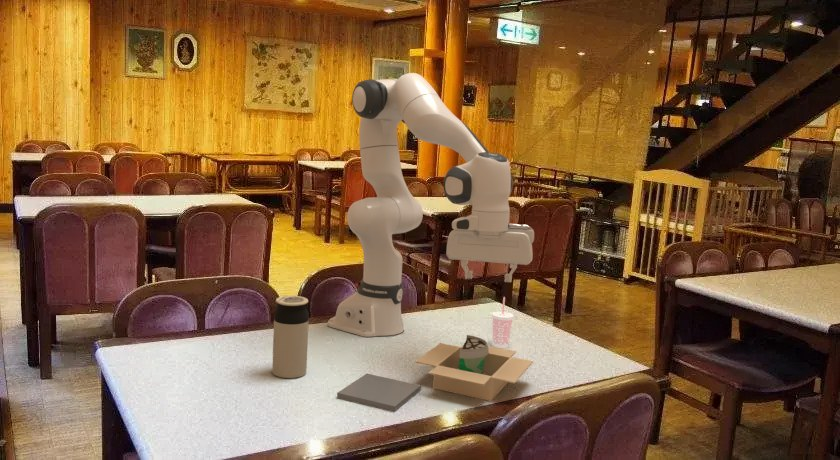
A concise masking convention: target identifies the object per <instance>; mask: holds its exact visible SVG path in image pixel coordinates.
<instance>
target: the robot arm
mask: <svg viewBox="0 0 840 460" xmlns="http://www.w3.org/2000/svg"><path fill="white" fill-rule="evenodd" d="M351 101H352V102H351V103H352V104H351V105H352V107H353V109H354V112H355V114H357V116H359V117H360V121H359V132H358V133H359V135H358V136H359V137H358V140H359V153H360V154H359V155H360V163H361V172H362V177H363V179H365V181H366V182H368V183H369V184H370V186H372V187H373V190H374V192H375V194H376V197H375V196H374V197H373V196H372V197H365V198H363V199H359V200H357V201H354V202H353V203H352V204H351V205H350V206H349V208H348V210H347V214H346V221H347V224H348V227H349V229H350V230H351V232H352V233H353V234H355V235H356V237H357V238H358V240H359V242H360V245H361V248H362V252H363V253H362V254H363V277H362V279H361V280H360V281H358V282H356V283H355V286H354V288H357V290H356V291H355V292H354V293H353V294H351V295H349V296H348V297H347V298H346V299H344V300H343V301H341V302H340V303H339V304H338V305H337V309H336V313H335V315H334V316H333V317H331V318H329V320H327V324H326V325H327V326H328V327H329V328H333V329H335V330H341V331H343V332H348V333H350V334H355V335H357V336H361V337H365V338H366V337H367V338H368V337H369V338H371V337H379V336H380V337H382V336H384V337H385V336H386V337H387V336H395V335H400V334H402V333H403V332H404V331H405V328H404V323H403V319H402V318H403V317H402V309H401V308H402V306H401V305H402V303H401V302H402V299H403V282H402V277H403V274H402V273H403V256H402V255H403V254H401V252H400V251H398V250H397V249H396V248H395V247H394V243H393V235H397V234H405V233H407V232H410V231H413V230H414V229H416V228H418V227H419V226H420V225H421V223H422V221H423V215H424V210H423V208H422V204H421V203H420V201H418V200H417V199H416V198H415V197H414V196H413V195H412V193H411V192H410V190H409V188H408V186H407V183H406V182H405V179H404V176H403V171H402V167H401V166H402V165H401V158H400V156H401V155H400V149H399V141H398V134H397V132H398V131H397V130H398V126H399V124H400V123H401V122H402V123H403V124H405V125H406V127H407V129H408V130H409V132H411V133H412V135H413V136H414V137H415V138H417V139H419V140H420V141H421V142H426V143H430V144H434V145H439V146H442V147H445V148H449V149H450V150H452V151H454V152H456V153H458V154H459V155H460V156H461V158H462V159H463V160H464V161H465V163H462V164H460V165H456V166H452V167H451V168H450V169H449V170H448V171H447V172H446V174H445V176H444V179H443V192H444V194H445V196H446V198H447V199H448V201H449V202H451V203H452V204H453V205H459V206H469V205H470V206H472V208H471V214H467V215H464V216H461V217H458V218H455V219H454V220H452V222H451V228H452V229H453V230H451V231H450V233H449V234H448V237H447V242H446V250H445V251H446V257H447V258H448V260H458V261H460V266H461V267H462V269H463V271H464V273H465V274H464V279H465V280H472V279H473V270H470V268H469V267H468V264H469V262H470V261H471V262H481V263H482V262H483V263H484V262H485V263H494V264H495V263H497V264H509V268H510V269H511V270H510V271H509V273H505V274H504V280H503V281H504V283H512V279H513V274H514V273H515V271H516V269H517V268H518V265H523V266H527V265H530V263H531V262H532V261H533V255H534V254H533V243H534V242H535V231H534V229H533V227H531V226H529V225H528V224H523V223H522V224H517V223H510V213H511V212H510V210H511V209H510V205H509V204H510V203H509V197H510V196H511V194H512V191H513V187H514V181H513V175H511V165H510V161H509V159H508V158H507V157H506V156H505V155H503V154H500V153H496V152H491V151H489V150H488V148H486V146H485V145H484V144H483V143H482V142H481V140H480V139H479V138H478V137H477V135H476V134H475V133H474V132H473V130H471V129H470V127H469V126H468V125H467V124H466V123H464V122H463V121H462V120H461V119H460V118H458V117H457V116H456V115H455V114H454V113H453V112H452V111H451V110H450V109H449V108H448V107H447V106H446V104H445V103H444V102H443V100H442V99H441V98H440V96H439V94H438V93H437V92H436V90H435V89H434V87H433V86H432V85H431V84H430V83H429V82H428V81H427V80H426V78H424V76H422V75H421V74H419V73H416V72H409V73H405V74H403V75H401V76H400V77H399V78H388V79H386V78H384V79H383V78H382V79H364V80H361V81H359V82H358V83H357V84H356V86H355V87H354V89H353V91H352V95H351Z"/></svg>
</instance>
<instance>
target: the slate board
mask: <svg viewBox="0 0 840 460" xmlns="http://www.w3.org/2000/svg"><path fill="white" fill-rule="evenodd" d="M421 388H422V385H420V384H416V383H412V382H407V381H403V380H399V379H394V378H388V377H385V376H379V375H375V374H371V373H365V374H364V375H362V376H361V377H359V378H358V379H356V380H355V381H353V382H352V383H350V384H348V385H346V387H344V388H342V389H341V390H339V391H338V392H336V393H337V394H336V395H337V396H336V399H339V400H345V401H349V402H353V403H357V404H361V405H365V406H369V407H373V408H378V409H381V410H386V411H390V412H396V411H398V410H399V409H400V408H402V406H403V405H405V404H406V403H407V402H409V401H410V400H411V399H412V398H413V397H415V396H416V395H417V394H419V392H421Z"/></svg>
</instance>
